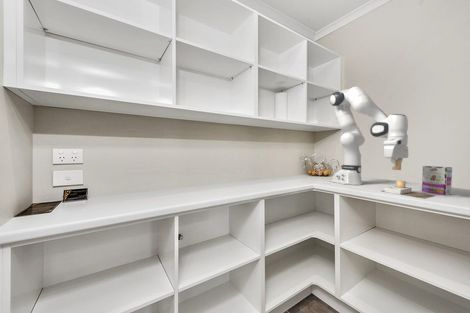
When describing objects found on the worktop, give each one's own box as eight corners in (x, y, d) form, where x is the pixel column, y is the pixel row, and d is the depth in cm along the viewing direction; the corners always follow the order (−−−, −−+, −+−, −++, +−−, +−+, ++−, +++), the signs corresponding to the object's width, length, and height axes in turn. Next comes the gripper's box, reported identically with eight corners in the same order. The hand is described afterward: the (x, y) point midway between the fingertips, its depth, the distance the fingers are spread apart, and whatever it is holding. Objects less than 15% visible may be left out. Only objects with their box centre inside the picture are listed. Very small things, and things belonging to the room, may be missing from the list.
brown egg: (399, 170, 108) (399, 159, 107) (390, 169, 111) (390, 159, 111) (402, 169, 109) (402, 159, 109) (394, 169, 113) (394, 159, 113)
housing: (384, 191, 112) (384, 181, 112) (396, 189, 119) (396, 179, 119) (400, 194, 106) (400, 183, 106) (411, 192, 112) (411, 181, 112)
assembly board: (379, 192, 114) (379, 191, 114) (392, 190, 121) (392, 188, 121) (424, 200, 97) (424, 198, 96) (436, 197, 104) (436, 195, 104)
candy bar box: (451, 196, 106) (453, 167, 106) (445, 197, 105) (446, 167, 105) (427, 192, 117) (428, 165, 117) (421, 192, 116) (422, 165, 116)
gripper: (399, 142, 118) (398, 165, 118) (381, 141, 108) (381, 166, 108) (412, 142, 112) (411, 165, 112) (395, 141, 102) (394, 167, 103)
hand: (396, 166), depth 110 cm, fingers closed on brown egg, 4 cm apart
